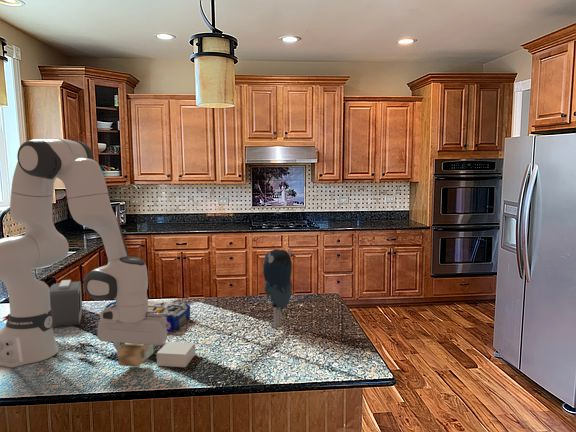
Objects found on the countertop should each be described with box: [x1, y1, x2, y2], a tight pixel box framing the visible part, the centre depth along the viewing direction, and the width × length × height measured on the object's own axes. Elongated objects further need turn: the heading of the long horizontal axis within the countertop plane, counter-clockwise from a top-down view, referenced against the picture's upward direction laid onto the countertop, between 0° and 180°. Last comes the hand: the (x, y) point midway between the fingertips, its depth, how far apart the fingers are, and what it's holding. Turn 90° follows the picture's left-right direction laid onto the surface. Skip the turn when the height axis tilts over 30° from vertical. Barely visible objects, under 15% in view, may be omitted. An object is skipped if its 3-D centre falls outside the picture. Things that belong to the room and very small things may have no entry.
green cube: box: [145, 345, 155, 360], centre depth 138 cm, size 5×5×5 cm
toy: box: [262, 248, 293, 329], centre depth 163 cm, size 14×11×30 cm
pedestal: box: [156, 341, 196, 368], centre depth 135 cm, size 9×9×4 cm
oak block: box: [117, 343, 147, 368], centre depth 129 cm, size 6×6×5 cm
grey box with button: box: [49, 279, 83, 328], centre depth 168 cm, size 16×11×16 cm
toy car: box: [103, 299, 191, 333], centre depth 168 cm, size 16×30×10 cm, turn 81°
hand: (132, 356), depth 129 cm, fingers closed on oak block, 6 cm apart
